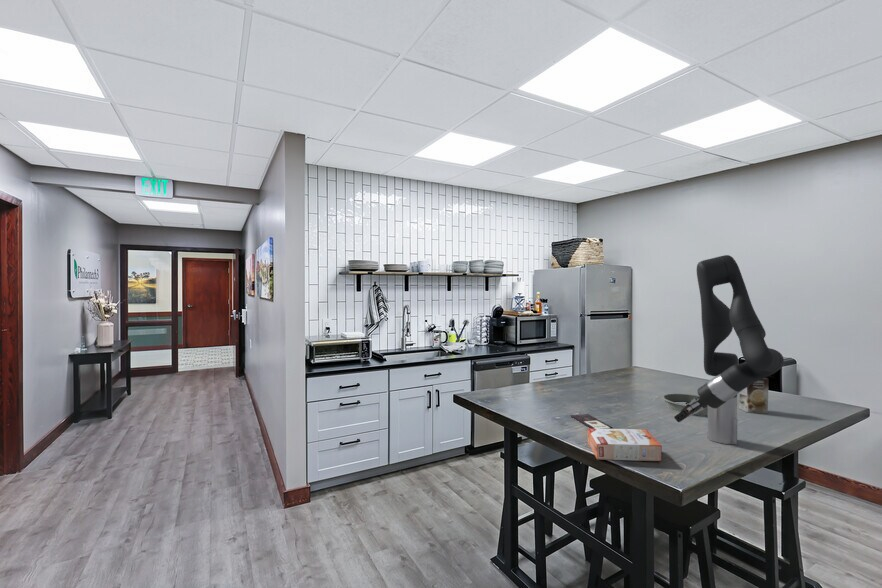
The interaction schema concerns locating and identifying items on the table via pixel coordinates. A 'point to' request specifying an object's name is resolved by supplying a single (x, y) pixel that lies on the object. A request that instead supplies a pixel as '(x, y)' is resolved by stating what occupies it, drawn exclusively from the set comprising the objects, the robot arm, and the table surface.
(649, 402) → the table surface
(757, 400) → the coffee box
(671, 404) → the cake pan
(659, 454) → the cracker box
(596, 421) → the chocolate bar
